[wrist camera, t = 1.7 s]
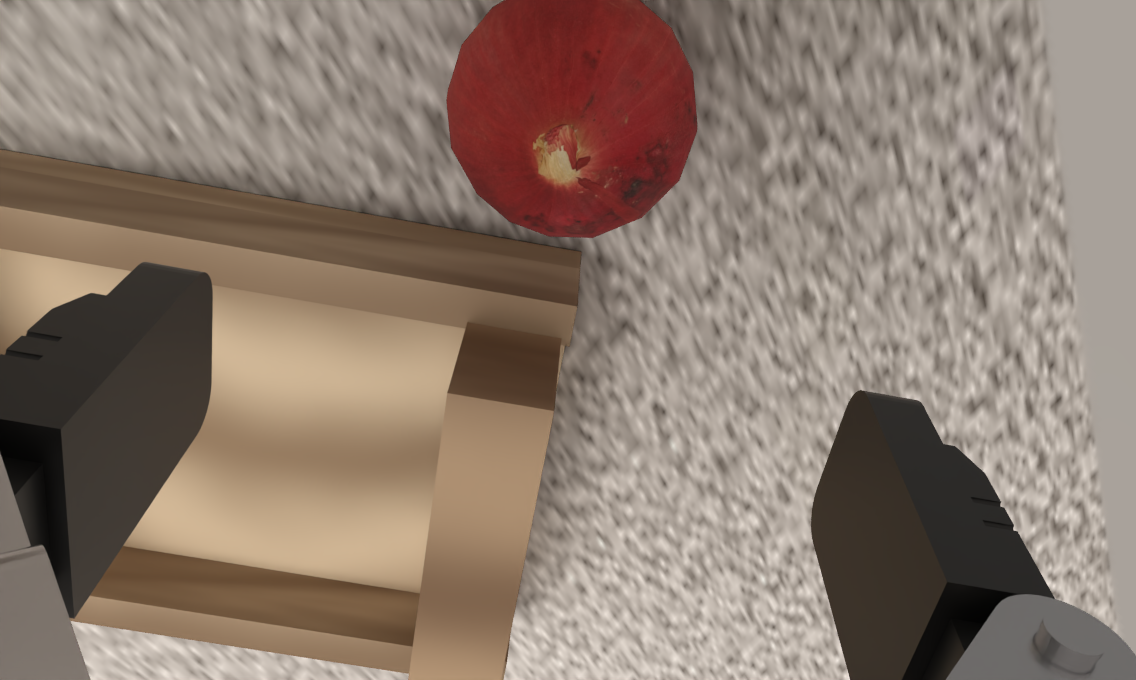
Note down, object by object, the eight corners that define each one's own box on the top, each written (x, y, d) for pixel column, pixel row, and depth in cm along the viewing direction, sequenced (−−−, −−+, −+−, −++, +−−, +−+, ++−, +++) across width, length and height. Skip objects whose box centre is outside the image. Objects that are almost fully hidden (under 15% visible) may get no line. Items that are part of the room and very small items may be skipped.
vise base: (-191, 115, 28) (-426, 205, 22) (581, 252, 29) (572, 376, 23) (-118, 509, 35) (-281, 666, 28) (511, 609, 36) (489, 783, 29)
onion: (732, 66, 27) (775, 161, 20) (587, 219, 29) (578, 353, 22) (566, -92, 25) (548, -51, 18) (425, 82, 27) (359, 180, 20)
